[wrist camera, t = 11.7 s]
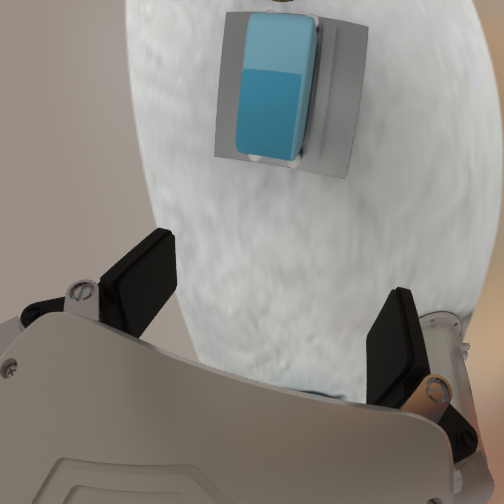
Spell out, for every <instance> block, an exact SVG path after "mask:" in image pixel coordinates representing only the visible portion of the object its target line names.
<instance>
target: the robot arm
mask: <svg viewBox="0 0 504 504" xmlns="http://www.w3.org/2000/svg"><path fill="white" fill-rule="evenodd" d="M176 287H177V272H176V253H175V236H174V235H173V234H172V232H171V231H170V230H167V229H163V228H157V229H156V230H155V231H153V232H152V233H151V234H150V235H149V236H147V237H146V238H145V239H144V240H143V241H141V242H140V243H139V244H138V245H137V246H136V247H134V248H133V249H132V250H131V251H130V252H128V253H127V254H126V255H125V256H124V257H123V258H122V259H120V260H119V261H118V262H117V263H116V264H115V265H114V266H113V267H111V268H110V269H109V270H108V271H107V272H106V273H105V274H104V275H103V276H102V277H101V278H100V282H99V283H98V284H97V283H96V282H94V281H92V280H88V279H87V280H80V281H77V282H75V283H73V284H72V285H71V286H70V287H69V288H68V289H67V292H66V296H65V297H61V298H56V299H51V300H47V301H41V302H37V303H33V304H31V305H29V306H27V307H26V308H25V309H24V310H23V312H22V314H21V317H20V318H18V316H16V317H14V318H12V319H10V320H8V321H6V322H4V323H1V324H0V504H486V503H487V502H488V501H489V499H490V498H491V497H492V495H493V492H494V487H495V484H494V480H493V478H492V475H491V473H490V471H489V469H488V464H487V458H486V453H485V450H484V446H483V443H482V439H481V434H480V430H479V426H478V421H477V416H476V411H475V406H474V401H473V396H472V391H471V387H470V382H469V378H468V374H467V370H466V367H465V363H464V360H466V359H467V356H468V353H467V351H461V350H469V348H470V344H469V343H462V342H461V339H460V336H461V332H462V326H461V323H460V320H459V319H458V317H456V316H455V315H454V314H451V313H447V312H438V313H432V314H429V315H426V316H424V317H422V318H420V319H419V318H418V314H417V310H416V307H415V303H414V300H413V296H412V293H411V290H409V289H405V288H401V287H397V288H396V289H395V290H394V289H393V290H391V292H390V294H389V296H388V298H387V300H386V302H385V304H384V306H383V308H382V310H381V311H380V313H379V315H378V317H377V319H376V321H375V322H374V324H373V326H372V328H371V329H370V331H369V333H368V335H367V339H366V353H367V395H366V404H363V403H356V402H350V401H345V400H339V399H334V398H328V397H323V396H318V395H313V394H308V393H304V392H299V391H295V390H291V389H286V388H282V387H278V386H274V385H271V384H267V383H263V382H259V381H256V380H252V379H249V378H245V377H242V376H239V375H235V374H232V373H229V372H226V371H223V370H219V369H216V368H213V367H210V366H208V365H205V364H202V363H199V362H196V361H193V360H191V359H188V358H185V357H182V356H180V355H177V354H174V353H172V352H169V351H167V350H164V349H162V348H159V347H157V346H154V345H152V344H150V343H147V342H145V341H142V340H140V339H139V337H140V336H141V335H142V333H143V332H144V330H145V329H146V328H147V327H148V325H149V324H150V322H151V321H152V320H153V319H154V317H155V316H156V315H157V313H158V312H159V311H160V310H161V308H162V307H163V306H164V304H165V303H166V301H167V300H168V299H169V298H170V296H171V295H172V294H173V293H174V291H175V290H176Z"/></svg>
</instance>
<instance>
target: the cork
mask: <svg viewBox="0 0 504 504" xmlns="http://www.w3.org/2000/svg"><path fill="white" fill-rule="evenodd" d="M273 1H277V2H288V1H293V0H273Z"/></svg>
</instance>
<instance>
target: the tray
mask: <svg viewBox="0 0 504 504" xmlns="http://www.w3.org/2000/svg"><path fill="white" fill-rule="evenodd" d="M265 12H269V13H276V12H275V11H272V10H268V11H265ZM253 13H254V12H226V20H225V28H224V37H223V46H222V56H221V67H220V78H219V90H218V103H217V117H216V133H215V151H214V157H222V158H230V159H238V160H245V161H252V162H258V163H265V164H271V165H277V166H283V167H288V168H294V169H299V170H304V171H309V172H314V173H319V174H324V175H328V176H333V177H337V178H342V179H345V177H346V173H347V168H348V163H349V159H350V154H351V148H352V143H353V138H354V133H355V127H356V121H357V115H358V109H359V103H360V96H361V89H362V82H363V75H364V67H365V58H366V48H367V38H368V27H367V26H363V25H359V24H355V23H350V22H345V21H340V20H335V19H329V18H323V17H317V16H316V15H314V14H307V15H303V16H311V17H313V18H314V19H315V25H316V34H317V42H318V46H317V56H316V64H315V72H314V79H313V86H312V93H311V100H310V107H309V113H308V120H307V126H306V133H305V138H304V142H303V144H302V146H301V148H300V151H299V153H298V155H297V157H296V159H295V160H294V161H287V160H281V159H276V158H270V157H264V156H258V155H252V154H245V153H240V152H239V151H238V150H237V148H236V127H237V116H238V106H239V96H240V87H241V78H242V69H243V60H244V51H245V43H246V35H247V27H248V22H249V18H250V16H251V15H252V14H253ZM284 14H290V13H284ZM295 15H300V14H295Z"/></svg>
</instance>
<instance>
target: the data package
mask: <svg viewBox="0 0 504 504" xmlns="http://www.w3.org/2000/svg"><path fill="white" fill-rule="evenodd" d="M317 46H318V42H317V34H316V25H315V19H314V18H313V17H311V16H303V15H295V14H284V13H269V12H254V13H253V14H252V15H251V16H250V18H249V22H248V27H247V35H246V43H245V51H244V60H243V69H242V78H241V87H240V96H239V106H238V116H237V127H236V148H237V150H238V151H239V152H240V153H245V154H252V155H258V156H264V157H270V158H276V159H281V160H287V161H294V160H295V159H296V157H297V155H298V153H299V151H300V148H301V146H302V144H303V142H304V138H305V133H306V126H307V120H308V113H309V107H310V100H311V93H312V86H313V79H314V72H315V64H316V56H317Z"/></svg>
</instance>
